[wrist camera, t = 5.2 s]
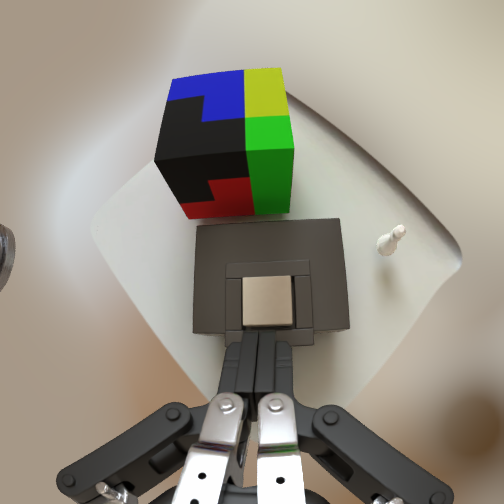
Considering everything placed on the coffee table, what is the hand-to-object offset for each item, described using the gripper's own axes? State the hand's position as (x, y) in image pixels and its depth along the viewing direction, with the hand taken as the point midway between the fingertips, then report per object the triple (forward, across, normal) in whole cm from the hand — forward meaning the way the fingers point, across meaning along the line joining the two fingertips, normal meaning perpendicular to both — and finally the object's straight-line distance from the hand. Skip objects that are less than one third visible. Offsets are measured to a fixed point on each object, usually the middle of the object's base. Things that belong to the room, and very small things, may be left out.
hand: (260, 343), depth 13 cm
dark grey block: (+12, 0, +5) cm, 13 cm away
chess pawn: (+15, -11, +3) cm, 19 cm away
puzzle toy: (+21, +3, -4) cm, 21 cm away
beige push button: (+7, 0, +3) cm, 7 cm away
